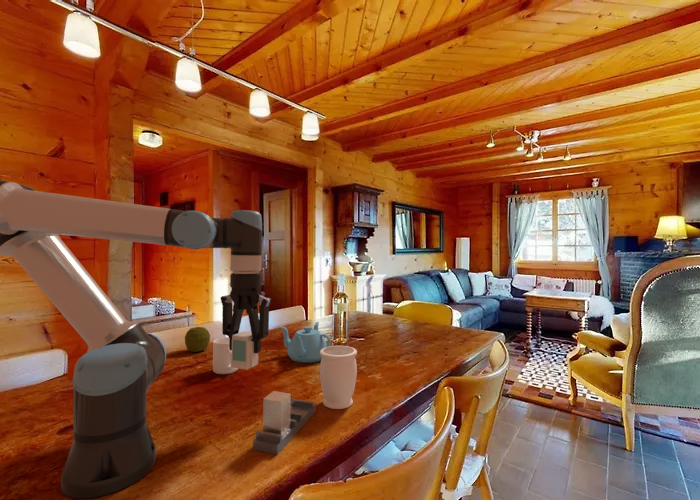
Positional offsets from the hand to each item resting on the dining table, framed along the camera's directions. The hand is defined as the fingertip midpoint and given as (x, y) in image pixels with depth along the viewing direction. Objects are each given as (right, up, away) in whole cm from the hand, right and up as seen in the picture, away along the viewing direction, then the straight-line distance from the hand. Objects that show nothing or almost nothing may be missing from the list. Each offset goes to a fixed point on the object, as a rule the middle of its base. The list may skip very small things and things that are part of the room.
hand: (244, 364), depth 87 cm
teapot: (+9, -14, +51) cm, 54 cm away
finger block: (0, 0, 0) cm, 0 cm away
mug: (-17, -14, +34) cm, 40 cm away
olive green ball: (-38, -14, +57) cm, 70 cm away
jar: (+23, -15, +11) cm, 30 cm away
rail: (+11, -15, -4) cm, 19 cm away
